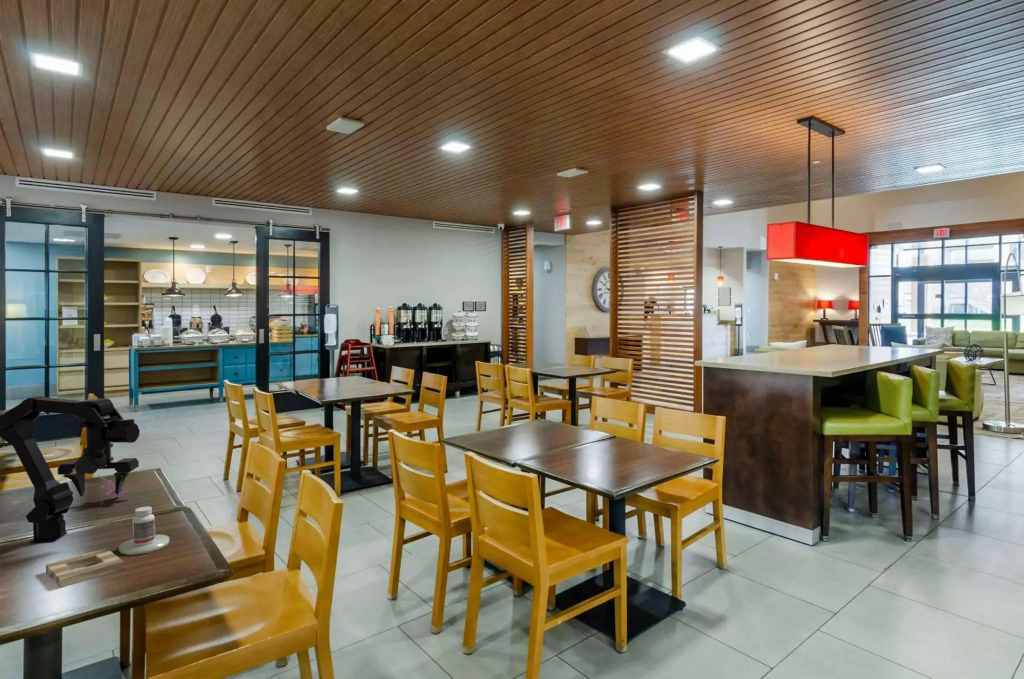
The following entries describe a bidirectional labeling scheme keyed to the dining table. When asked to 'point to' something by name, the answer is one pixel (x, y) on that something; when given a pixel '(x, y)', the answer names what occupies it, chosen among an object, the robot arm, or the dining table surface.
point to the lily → (112, 489)
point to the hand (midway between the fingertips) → (99, 495)
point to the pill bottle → (143, 526)
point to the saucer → (144, 546)
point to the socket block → (66, 576)
